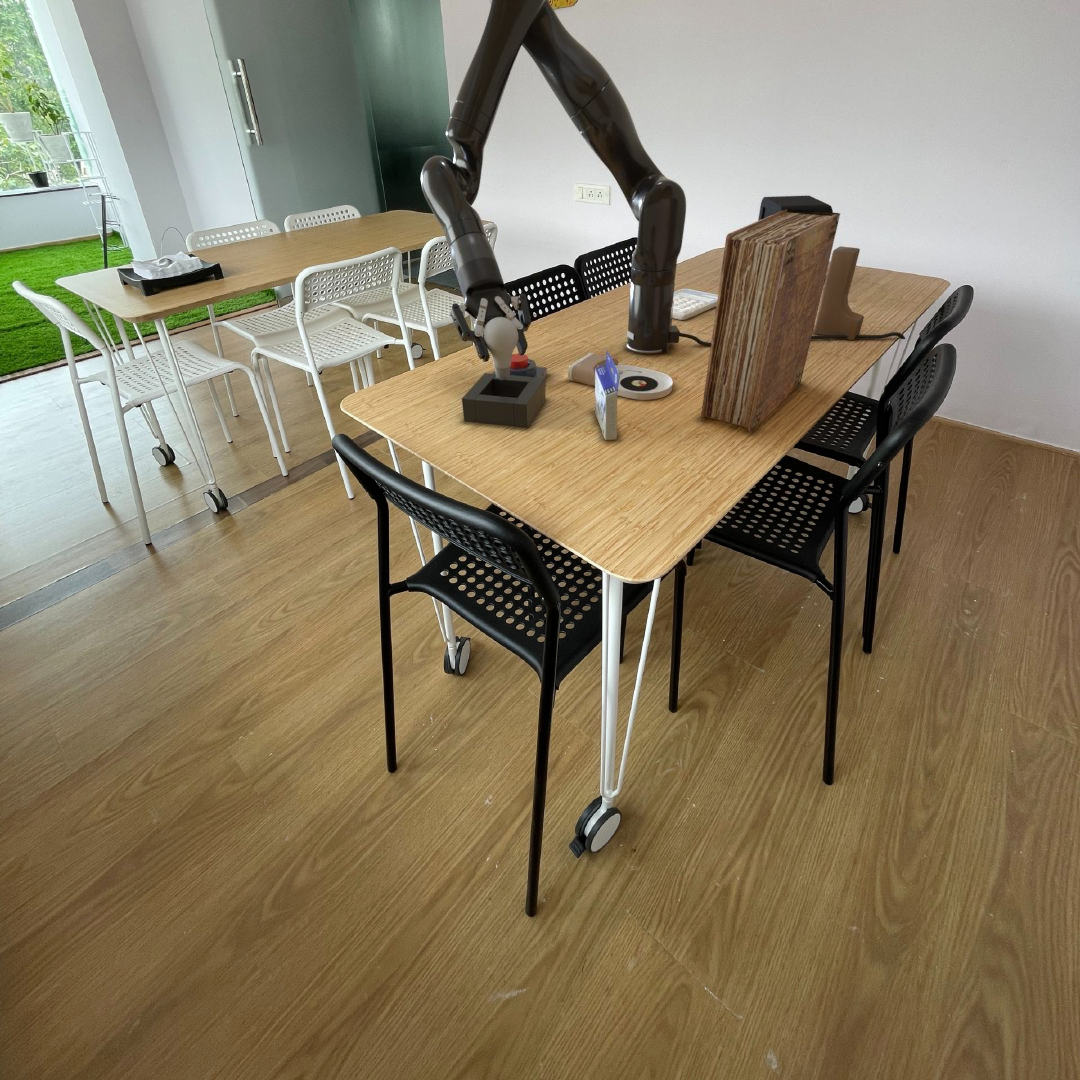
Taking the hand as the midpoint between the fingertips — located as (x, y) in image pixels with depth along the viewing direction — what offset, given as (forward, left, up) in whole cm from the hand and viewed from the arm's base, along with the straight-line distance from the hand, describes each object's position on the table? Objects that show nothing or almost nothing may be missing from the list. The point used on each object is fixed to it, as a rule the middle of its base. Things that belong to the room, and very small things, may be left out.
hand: (505, 356), depth 107 cm
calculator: (-25, -71, -11) cm, 76 cm away
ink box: (-18, +1, -11) cm, 21 cm away
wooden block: (-61, -56, -11) cm, 84 cm away
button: (+3, -15, -8) cm, 17 cm away
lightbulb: (+1, -1, -5) cm, 5 cm away
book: (-43, -15, -11) cm, 47 cm away
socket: (+1, -1, -11) cm, 11 cm away
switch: (+3, -15, -11) cm, 19 cm away
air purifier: (-51, -106, -11) cm, 118 cm away
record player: (-18, -18, -11) cm, 28 cm away
